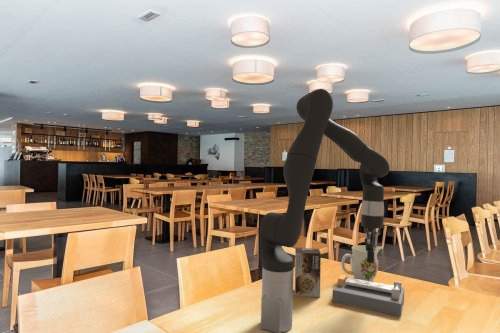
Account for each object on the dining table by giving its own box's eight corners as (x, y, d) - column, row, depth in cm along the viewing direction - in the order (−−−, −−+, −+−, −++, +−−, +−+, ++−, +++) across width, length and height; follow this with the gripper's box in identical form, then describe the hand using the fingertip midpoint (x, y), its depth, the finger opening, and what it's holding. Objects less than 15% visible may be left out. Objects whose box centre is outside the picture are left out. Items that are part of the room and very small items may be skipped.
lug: (343, 286, 123) (343, 279, 122) (337, 285, 123) (338, 278, 123) (346, 282, 127) (346, 275, 127) (341, 281, 128) (341, 274, 128)
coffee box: (318, 290, 128) (319, 248, 128) (320, 297, 122) (321, 253, 121) (294, 289, 129) (295, 247, 129) (294, 296, 123) (295, 251, 122)
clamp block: (400, 316, 109) (401, 294, 108) (332, 301, 119) (332, 281, 119) (404, 298, 123) (404, 279, 123) (342, 286, 133) (343, 268, 133)
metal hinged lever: (398, 295, 114) (398, 290, 114) (344, 285, 122) (344, 280, 122) (400, 290, 119) (400, 285, 119) (348, 280, 127) (348, 276, 127)
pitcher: (335, 276, 145) (336, 244, 145) (374, 274, 148) (375, 243, 148) (346, 285, 134) (348, 251, 134) (388, 283, 137) (389, 250, 137)
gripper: (381, 216, 112) (379, 268, 113) (386, 212, 124) (384, 259, 124) (357, 214, 116) (355, 265, 116) (364, 210, 128) (362, 256, 128)
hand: (370, 262), depth 120 cm, fingers closed
